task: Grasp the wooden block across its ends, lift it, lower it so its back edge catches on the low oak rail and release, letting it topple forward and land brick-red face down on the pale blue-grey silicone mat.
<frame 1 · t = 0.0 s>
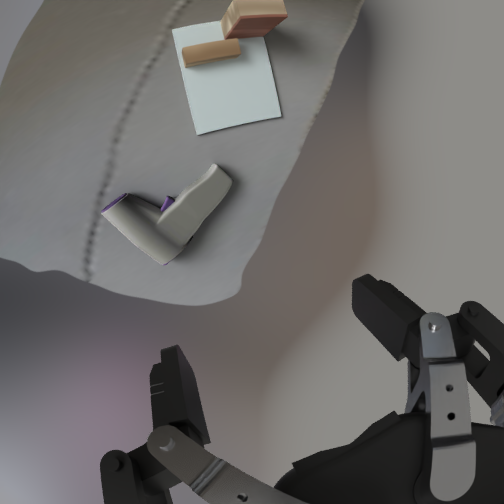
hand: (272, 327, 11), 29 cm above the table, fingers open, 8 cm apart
rail: (208, 55, 29), resting on silicone mat
wooden block: (241, 28, 28), point 1 cm above the table, touching silicone mat
silicone mat: (227, 70, 31), on the table
infrared thermometer: (167, 194, 36), on the table
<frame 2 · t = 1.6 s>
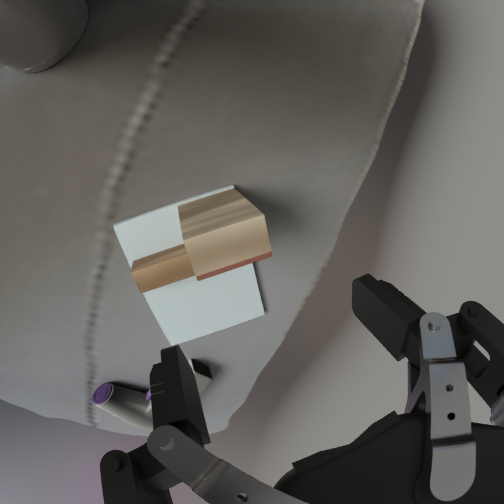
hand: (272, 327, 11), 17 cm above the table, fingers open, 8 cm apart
rail: (169, 257, 27), resting on silicone mat
wooden block: (210, 212, 26), point 1 cm above the table, touching silicone mat
silicone mat: (196, 274, 29), on the table
infrared thermometer: (149, 379, 34), on the table
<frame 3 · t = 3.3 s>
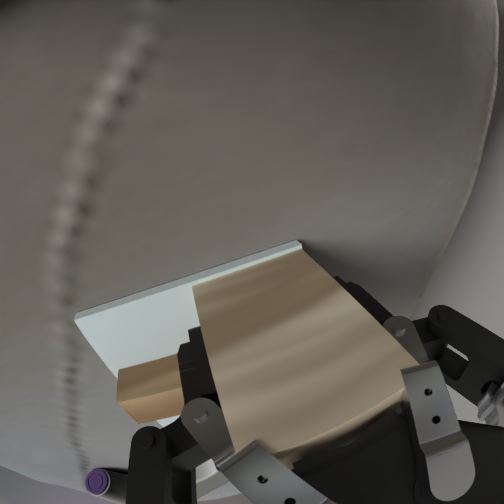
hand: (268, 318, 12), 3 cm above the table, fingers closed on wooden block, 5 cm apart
rail: (179, 360, 15), resting on silicone mat
wooden block: (254, 293, 14), point 1 cm above the table, touching gripper, silicone mat
silicone mat: (224, 377, 17), on the table
infrared thermometer: (155, 465, 21), on the table
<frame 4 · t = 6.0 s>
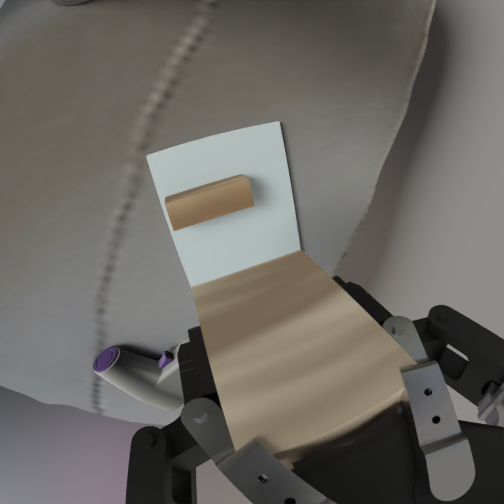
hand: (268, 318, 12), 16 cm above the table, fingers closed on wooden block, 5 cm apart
rail: (205, 196, 24), resting on silicone mat
wooden block: (254, 294, 14), point 13 cm above the table, touching gripper
silicone mat: (233, 217, 26), on the table
infrared thermometer: (163, 342, 31), on the table
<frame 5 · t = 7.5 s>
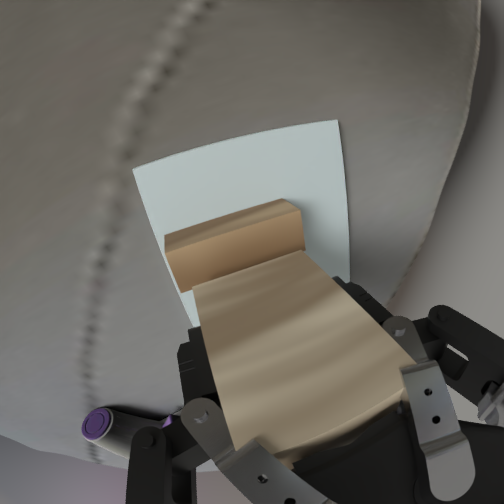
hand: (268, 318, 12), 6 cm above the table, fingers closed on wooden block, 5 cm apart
rail: (227, 230, 16), resting on silicone mat
wooden block: (254, 294, 14), point 4 cm above the table, touching gripper
silicone mat: (266, 260, 18), on the table
infrared thermometer: (168, 402, 22), on the table
when the fingers open (6 cm above the table, at t = 8.5 s): wooden block drops 2 cm and tips over, resting on silicone mat.
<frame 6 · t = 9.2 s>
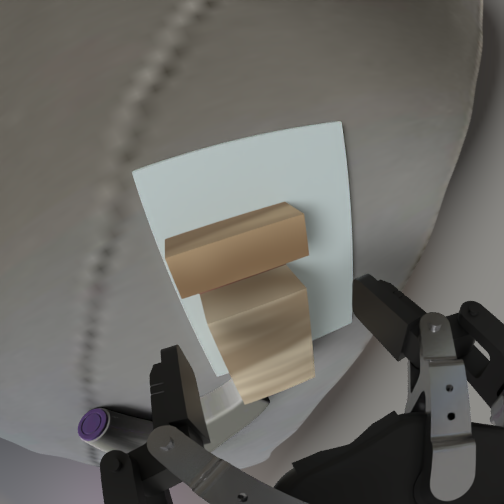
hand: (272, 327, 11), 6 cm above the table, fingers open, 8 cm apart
rail: (228, 234, 16), resting on silicone mat
wooden block: (249, 290, 15), point 2 cm above the table, tilted 90°, touching silicone mat
silicone mat: (269, 264, 18), on the table
infrared thermometer: (166, 402, 22), on the table
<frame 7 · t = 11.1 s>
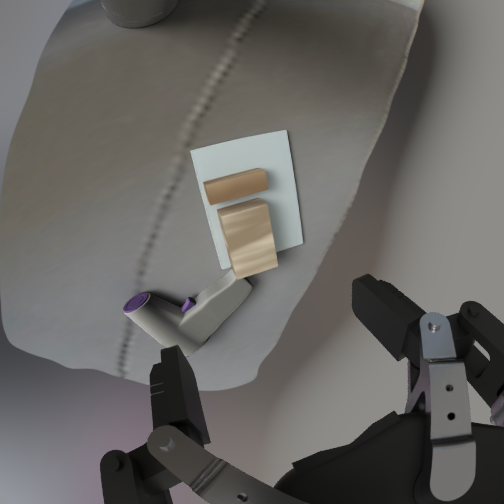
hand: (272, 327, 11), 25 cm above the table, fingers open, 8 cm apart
rail: (232, 182, 33), resting on silicone mat
wooden block: (241, 206, 33), point 2 cm above the table, tilted 90°, touching silicone mat
silicone mat: (251, 199, 35), on the table
infrared thermometer: (187, 291, 38), on the table
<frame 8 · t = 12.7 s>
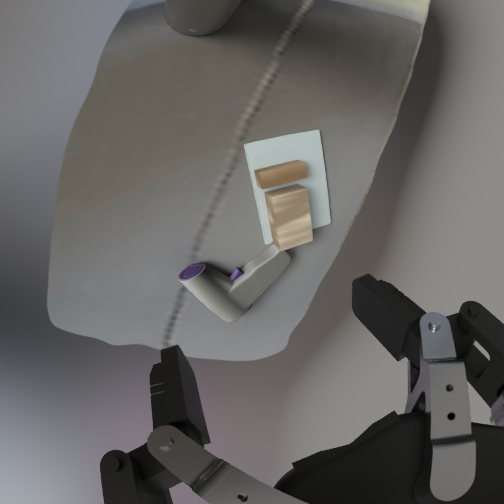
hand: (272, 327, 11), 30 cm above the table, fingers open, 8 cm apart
rail: (276, 171, 40), resting on silicone mat
wooden block: (285, 190, 39), point 2 cm above the table, tilted 90°, touching silicone mat
silicone mat: (291, 186, 42), on the table
infrared thermometer: (233, 263, 45), on the table
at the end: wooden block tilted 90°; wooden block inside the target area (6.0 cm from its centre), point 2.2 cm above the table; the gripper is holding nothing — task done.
